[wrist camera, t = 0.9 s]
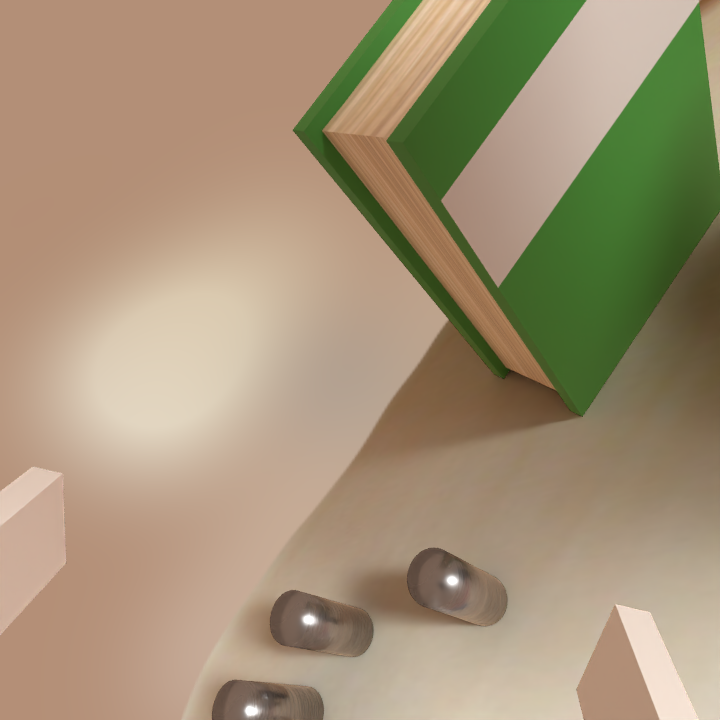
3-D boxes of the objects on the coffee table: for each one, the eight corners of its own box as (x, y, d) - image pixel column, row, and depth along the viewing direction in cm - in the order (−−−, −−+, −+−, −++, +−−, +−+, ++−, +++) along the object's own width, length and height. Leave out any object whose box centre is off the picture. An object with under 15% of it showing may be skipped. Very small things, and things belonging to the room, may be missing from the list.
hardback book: (582, 416, 36) (402, 143, 19) (494, 374, 41) (292, 130, 24) (723, 205, 37) (672, -219, 21) (621, 190, 43) (513, -158, 26)
